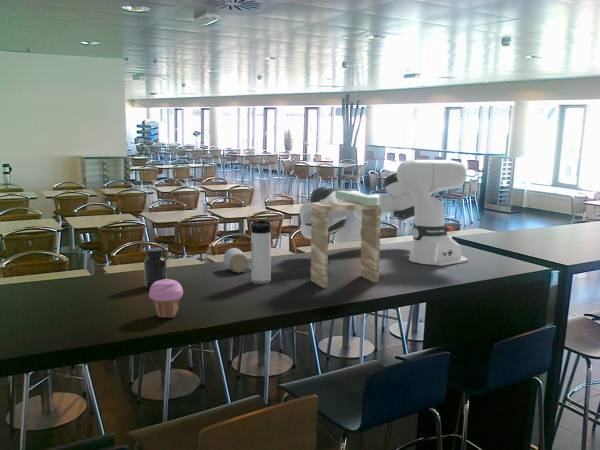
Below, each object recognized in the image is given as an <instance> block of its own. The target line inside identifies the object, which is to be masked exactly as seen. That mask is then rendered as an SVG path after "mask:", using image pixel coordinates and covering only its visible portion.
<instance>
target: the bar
mask: <svg viewBox="0 0 600 450" xmlns="http://www.w3.org/2000/svg"><path fill="white" fill-rule="evenodd" d="M363 194H364V193H363ZM363 194H358V193H353V192H348V191H336V198H338V199H342V200H346V201H350V202H355V203H359V204H363V205H367V206H374V205H377V197H373V196H368V195H369V194H366V195H363Z"/></svg>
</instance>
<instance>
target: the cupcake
mask: <svg viewBox="0 0 600 450" xmlns="http://www.w3.org/2000/svg"><path fill="white" fill-rule="evenodd" d="M183 289H184V288H183V286H182V285H181V284H180V282H178V280H174V279H170V278H169V279H168V278H167V279H163V280H160V281H156V282H154V283H153V284H152V285H151V288H150V289H149V294H148V296H149V298H150V299H151V300H153V304H154V307H155V311H156V312H155V313H156V315H157V317H159V318H168V319H169V318H170V319H171V318H172V319H173V318H174V317H176V315H177V314H178V310H179V304H180V299H182V298H183V295H184V290H183Z"/></svg>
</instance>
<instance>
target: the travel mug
mask: <svg viewBox="0 0 600 450" xmlns="http://www.w3.org/2000/svg"><path fill="white" fill-rule="evenodd" d="M250 227H251V235H250V236H251V238H250V239H251V241H250V242H251V244H250V245H251V248H250V250H251V251H250V252H251V254H250V255H251V260H250V261H251V262H250V263H251V264H252V270H251V283H252V284H254V285H267V284H270V283H271V281H272V278H271V277H272V275H271V274H272V273H271V271H272V270H271V267H272V266H271V265H272V262H271V261H272V259H271V258H272V254H271V250H272V249H271V248H272V247H271V246H272V245H271V243H272V242H271V232H272V231H271V222H270V221H266V220H263V219H262V220H261V219H260V220H259V221H254V222H251V226H250Z"/></svg>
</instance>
